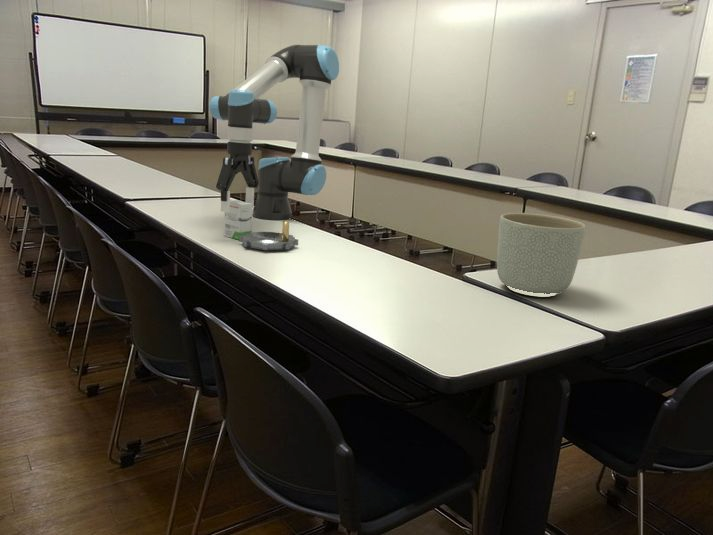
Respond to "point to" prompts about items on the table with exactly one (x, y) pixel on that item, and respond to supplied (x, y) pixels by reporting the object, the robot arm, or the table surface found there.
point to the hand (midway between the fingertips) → (237, 209)
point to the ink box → (238, 219)
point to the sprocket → (270, 239)
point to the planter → (538, 251)
